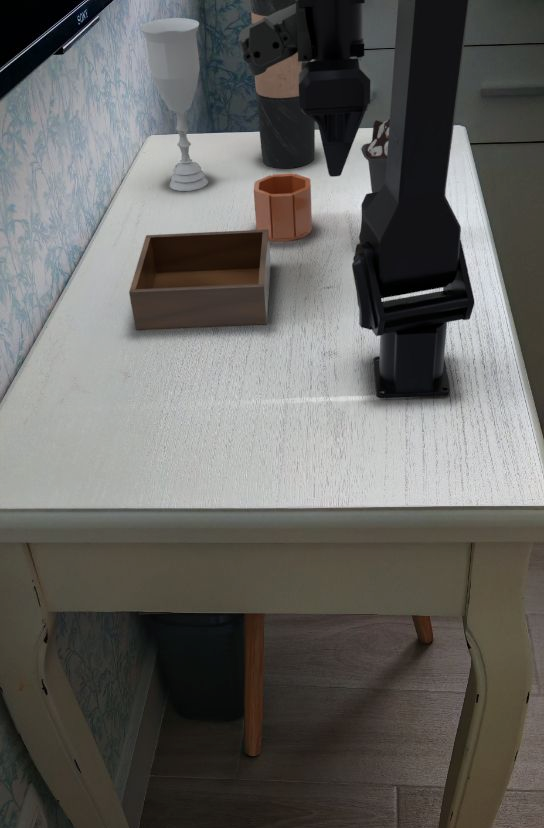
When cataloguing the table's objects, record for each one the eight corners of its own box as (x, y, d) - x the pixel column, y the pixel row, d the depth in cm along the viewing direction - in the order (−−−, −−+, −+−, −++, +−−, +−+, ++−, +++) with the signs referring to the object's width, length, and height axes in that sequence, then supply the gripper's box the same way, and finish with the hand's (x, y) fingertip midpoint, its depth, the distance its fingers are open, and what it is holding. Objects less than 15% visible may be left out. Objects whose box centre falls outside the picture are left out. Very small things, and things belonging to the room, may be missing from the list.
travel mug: (285, 173, 120) (276, -5, 106) (249, 159, 125) (236, -13, 111) (328, 157, 124) (325, -18, 109) (291, 144, 128) (284, -26, 114)
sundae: (417, 256, 100) (425, 107, 90) (357, 254, 102) (357, 107, 91) (423, 230, 105) (431, 86, 94) (364, 229, 106) (366, 86, 96)
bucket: (312, 244, 105) (310, 194, 101) (256, 246, 105) (252, 197, 101) (312, 221, 109) (310, 172, 105) (258, 223, 110) (255, 175, 106)
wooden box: (267, 329, 91) (264, 286, 88) (136, 334, 92) (128, 292, 89) (271, 269, 101) (268, 229, 97) (152, 275, 101) (145, 234, 98)
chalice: (151, 184, 121) (128, 27, 108) (191, 169, 124) (173, 15, 111) (185, 198, 116) (165, 37, 104) (226, 182, 119) (211, 23, 107)
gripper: (244, -42, 88) (256, 133, 98) (233, 2, 74) (249, 199, 85) (361, -50, 87) (360, 127, 98) (371, -7, 73) (369, 192, 84)
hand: (333, 159), depth 91 cm, fingers open, 9 cm apart
